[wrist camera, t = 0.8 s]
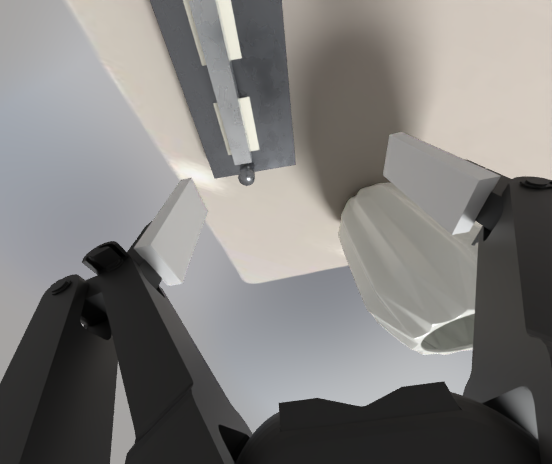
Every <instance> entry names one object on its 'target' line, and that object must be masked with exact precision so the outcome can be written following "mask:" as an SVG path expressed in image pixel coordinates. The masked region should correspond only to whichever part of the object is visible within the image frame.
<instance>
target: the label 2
mask: <svg viewBox="0 0 552 464" xmlns="http://www.w3.org/2000/svg"><path fill="white" fill-rule="evenodd" d="M239 99H240V103H241V108H242V113H243V117H244V122H245V126H246V131H247V135H248V140H249V144H250V149H251V151H256V150H260V149H259V144H258V139H257V134H256V128H255V123H254V118H253V113H252V108H251V102H250V97H244V98H239ZM213 105H214V108H215V111H216V115H217V118H218V122H219V125H220V128H221V132H222V135H223V139H224V142H225V145H226V149H227V152H228V155H232V153H231V150H230V146H229V143H228V139H227V135H226V132H225V128H224V125H223V121H222V118H221V114H220V111H219V107H218V104H217V103H213Z"/></svg>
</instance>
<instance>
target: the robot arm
mask: <svg viewBox="0 0 552 464" xmlns="http://www.w3.org/2000/svg"><path fill="white" fill-rule="evenodd" d="M383 176H384V177H386V178H387V179H388V180H389V181H390V182H391V183H393V184H394V185H395V186H396V187H397V188H398V189H399V190H401V191H402V192H403V193H404V194H405V195H406V196H408V197H409V198H410V199H411V200H412V201H413V202H415V203H416V204H417V205H418V206H419V207H420V208H421V209H423V210H424V211H425V212H426V213H427V214H428V215H430V216H431V217H432V218H433V219H434V220H435V221H436V222H438V223H439V224H440V225H441V226H442V227H443V228H445V229H446V230H447V231H448V232H449V233H450V234H452V235H454V234H459V233H465V232H469V231H470V230H471V228H472V226H473V224H474V223H475V221H477V222H478V223H480V224H481V225H483V226H482V228H481V229H480V231H479V233H478V234H477V236H476V238H475V239H474V241H473V243H472V244H471V245H473V246H475V244H476V243H478V256H477V276H476V296H475V316H474V336H473V357H472V371H471V375H470V378H469V380H468V382H467V384H466V386H465V390H464V393H463V396H462V395H459V394H455V393H452V392H450V391H449V389H448V387H447V386H446V384H445V382H436V383H428V384H421V385H414V386H406V387H401V388H399V389H397V390H395V391H393V392H392V393H390V394H388V395H386V396H384V397H382V398H380V399H378V400H376V401H374V402H373V403H371V404H369V405H367V406H363V407H360V406H355V405H350V404H345V403H340V402H335V401H330V400H325V399H320V398H314V399H307V400H299V401H291V402H283V403H279V412H278V413H276V414H274V415H273V416H272V417H270V418H269V419H267V420H266V421H265V422H264V423H263V424H262V425H261V426H260V427H259V428H258V429H257V430H256V431H255V432H254V433H253V434H252V432H251V431H250V429H249V427H248V426H247V424H246V423H245V421H244V420H243V419H242V417H241V416H240V415H239V413H238V412H237V411H236V410H235V409H234V407H233V406H232V405H231V404H230V402H229V400H228V398H227V397H226V395H225V393H224V392H223V390H222V388H221V387H220V385H219V383H218V382H217V380H216V378H215V377H214V375H213V373H212V372H211V370H210V368H209V366H208V365H207V363H206V362H205V360H204V358H203V356H202V355H201V353H200V351H199V350H198V348H197V346H196V345H195V343H194V341H193V340H192V338H191V336H190V335H189V333H188V331H187V330H186V328H185V326H184V325H183V323H182V321H181V319H180V318H179V316H178V314H177V313H176V311H175V309H174V308H173V306H172V304H171V303H170V301H169V299H168V298H167V296H166V294H165V293H164V291H163V289H162V288H161V287H160V286H159V284H160V282H161V280H163V281H164V282H165V283H166V284H167V285H168V286H171V285H176V284H182V283H183V280H184V278H185V275H186V272H187V269H188V266H189V264H190V261H191V258H192V255H193V252H194V249H195V246H196V244H197V241H198V238H199V235H200V232H201V230H202V227H203V224H204V221H205V218H206V216H207V213H208V210H207V208H206V206H205V204H204V202H203V200H202V198H201V196H200V194H199V192H198V190H197V188H196V186H195V184H194V182H193V180H192V178H188V179H183V180H181V181H180V182H179V183H178V185H177V186H176V188H175V189H174V191H173V192H172V194H171V195H170V196H169V198H168V199H167V201H166V202H165V204H164V205H163V207H162V208H161V209H160V211H159V212H158V214H157V215H156V217H155V218H154V220H153V221H151V222H150V223H149V224H148V225H147V226H146V227H145V228H144V229H143V231H142V232H141V234H140V235H139V236H138V238H137V240H136V241H135V242H134V243H133V245H132V246H131V247H130V249H129V250H128V252H126V251H125V250H124V249H123V248H122V247H121V246H120V245H119V244H118V243H117V242H114V241H111V242H107V243H104V244H102V245H99V246H97V247H96V248H94V249H93V250H91V251H90V252H89V253H88V254H87V255H86V256H85V257H84V258H83V261H82V263H83V264H85V265H86V266H87V267H88V268H90V269H91V270H92V271H93V272H94V273H96V274H97V275H98V276H95V277H93V278H90V279H88V280H86V281H85V280H84V279H82V278H81V277H80V276H79V275H70V276H67V277H65V278H63V279H61V280H58V281H57V282H56V283H54V284H53V285H51V287H50V288H49V289H48V290H47V291H46V292H45V293H44V295H43V297H42V298H41V301H40V303H39V305H38V307H37V309H36V311H35V313H34V315H33V317H32V319H31V321H30V323H29V325H28V327H27V329H26V331H25V334H24V336H23V338H22V340H21V342H20V344H19V346H18V348H17V350H16V352H15V354H14V356H13V358H12V360H11V362H10V365H9V366H8V369H7V371H6V373H5V375H4V377H3V379H2V381H1V383H0V464H110V454H111V441H112V427H113V415H114V403H115V389H116V378H117V377H116V376H117V364H118V362H119V366H120V370H121V375H122V379H123V383H124V387H125V392H126V396H127V400H128V404H129V408H130V412H131V416H132V421H133V425H134V430H135V435H136V440H135V444H134V445H133V446H132V448H131V449H130V450H129V452H128V453H127V456H126V461H125V464H552V180H548V179H545V178H539V177H516V178H513V179H510V178H508V177H505V176H503V175H501V174H499V173H496V172H494V171H492V170H489V169H485V167H483V166H480V165H478V164H476V163H474V162H471V161H469V160H465V159H462V158H460V157H457V156H455V155H453V154H451V153H449V152H446V151H444V150H442V149H440V148H437V147H435V146H433V145H431V144H428V143H426V142H424V141H422V140H419V139H417V138H415V137H413V136H410V135H408V134H406V133H404V132H398V133H394V134H389V140H388V146H387V153H386V159H385V165H384V171H383ZM81 323H82V324H84V327H83V326H82V324H81Z"/></svg>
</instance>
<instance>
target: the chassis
mask: <svg viewBox="0 0 552 464" xmlns="http://www.w3.org/2000/svg"><path fill="white" fill-rule="evenodd" d="M150 2H151V4H152V7H153V10H154V13H155V15H156V18H157V21H158V24H159V26H160V29H161V32H162V35H163V37H164V40H165V43H166V46H167V48H168V51H169V54H170V57H171V59H172V62H173V65H174V68H175V70H176V73H177V76H178V79H179V81H180V84H181V87H182V90H183V92H184V95H185V98H186V101H187V103H188V106H189V109H190V112H191V114H192V117H193V120H194V123H195V125H196V128H197V131H198V134H199V137H200V139H201V142H202V145H203V148H204V150H205V153H206V156H207V159H208V161H209V164H210V167H211V170H212V172H213V175H214V178H221V177H227V176H232V175H238V174H239V171H240V166H241V165H242V164H240V165H235V164H234V160H233V157H232V155H228V152H227V149H226V145H225V142H224V139H223V135H222V132H221V128H220V125H219V122H218V118H217V115H216V111H215V108H214V105H213V103H217V100H216V97H215V93H214V89H213V86H212V82H211V79H210V75H209V72H208V68H207V65H204V66H202V64H201V60H200V57H199V53H198V50H197V47H196V43H195V40H194V36H193V33H192V30H191V26H190V23H189V19H188V16H187V13H186V9H185V6H184V2H183V0H150ZM231 4H232V9H233V14H234V19H235V24H236V30H237V35H238V40H239V45H240V50H241V56H242V58H240V59H235V60H231V63H232V67H233V72H234V76H235V81H236V85H237V90H238V94H239V98H244V97H250V102H251V108H252V113H253V118H254V123H255V128H256V134H257V139H258V144H259V149H260V150H256V151H251V153H252V162H251V164H252V165H253V166H254V168H255V172H256V171H262V170H268V169H273V168H279V167H285V166H291V165H296V163H295V151H294V139H293V128H292V116H291V104H290V93H289V81H288V69H287V58H286V46H285V34H284V22H283V11H282V0H231Z"/></svg>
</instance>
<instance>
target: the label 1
mask: <svg viewBox="0 0 552 464" xmlns="http://www.w3.org/2000/svg"><path fill="white" fill-rule="evenodd" d="M189 1H192V0H183V2H184V6H185V9H186V13H187V16H188V19H189V23H190V26H191V30H192V33H193V36H194V40H195V43H196V47H197V50H198V53H199V57H200V60H201V64H202V66H204V65H206V61H205V58H204V54H203V51H202V47H201V43H200V40H199V36H198V33H197V29H196V26H195V22H194V19H193V15H192V12H191V8H190V4H189ZM217 1H218V4H219V8H220V13H221V17H222V22H223V26H224V31H225V35H226V40H227V44H228V49H229V53H230V58H231V60H235V59H240V58H242V56H241V50H240V45H239V40H238V35H237V30H236V24H235V19H234V14H233V9H232V4H231V0H217Z"/></svg>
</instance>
